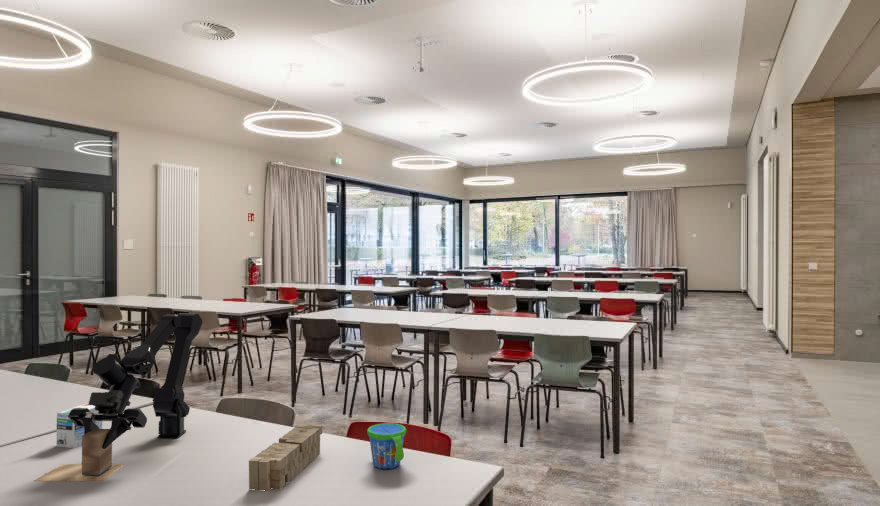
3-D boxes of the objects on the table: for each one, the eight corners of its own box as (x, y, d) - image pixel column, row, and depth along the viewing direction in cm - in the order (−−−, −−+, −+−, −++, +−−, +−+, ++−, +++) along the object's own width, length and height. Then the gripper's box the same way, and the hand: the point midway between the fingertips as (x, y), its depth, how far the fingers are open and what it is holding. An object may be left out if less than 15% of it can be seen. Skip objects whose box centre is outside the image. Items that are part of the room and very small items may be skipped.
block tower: (277, 497, 134) (323, 451, 163) (277, 463, 134) (323, 423, 163) (247, 494, 136) (298, 449, 165) (247, 460, 136) (298, 421, 164)
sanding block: (111, 466, 146) (112, 428, 146) (99, 474, 141) (99, 435, 141) (94, 466, 146) (94, 428, 146) (81, 474, 141) (82, 435, 141)
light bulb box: (74, 450, 161) (74, 414, 161) (54, 449, 162) (55, 412, 162) (103, 439, 171) (103, 404, 171) (85, 437, 173) (85, 403, 173)
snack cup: (359, 458, 158) (360, 422, 158) (394, 452, 162) (394, 418, 162) (377, 478, 144) (378, 439, 144) (414, 472, 148) (415, 434, 148)
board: (125, 467, 149) (125, 463, 149) (102, 484, 138) (102, 480, 138) (61, 467, 148) (61, 464, 148) (33, 484, 137) (33, 480, 137)
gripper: (72, 378, 147) (42, 432, 136) (141, 379, 147) (116, 433, 136) (91, 399, 155) (63, 452, 144) (156, 400, 155) (134, 453, 144)
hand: (93, 448), depth 142 cm, fingers closed on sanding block, 5 cm apart
